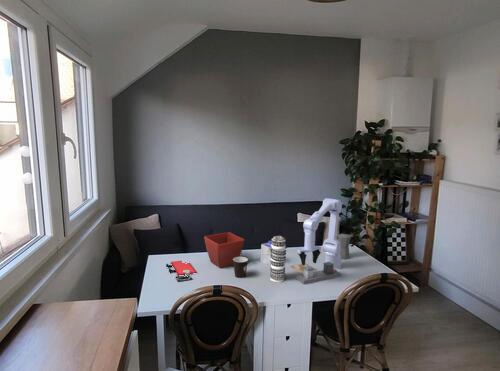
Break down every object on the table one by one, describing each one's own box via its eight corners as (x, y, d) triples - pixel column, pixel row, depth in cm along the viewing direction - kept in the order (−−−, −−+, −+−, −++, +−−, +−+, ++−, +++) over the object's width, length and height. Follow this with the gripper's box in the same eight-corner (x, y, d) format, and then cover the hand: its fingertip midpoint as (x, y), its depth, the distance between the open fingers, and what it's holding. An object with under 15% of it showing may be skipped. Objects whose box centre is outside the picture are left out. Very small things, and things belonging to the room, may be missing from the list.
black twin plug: (328, 274, 203) (329, 261, 202) (332, 277, 200) (333, 264, 198) (323, 275, 201) (323, 262, 200) (327, 278, 198) (328, 265, 197)
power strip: (331, 272, 207) (331, 266, 206) (340, 277, 200) (340, 271, 199) (295, 279, 195) (295, 274, 195) (303, 285, 188) (303, 279, 188)
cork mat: (305, 264, 219) (305, 263, 219) (317, 271, 208) (317, 270, 208) (289, 267, 213) (289, 266, 213) (300, 274, 203) (300, 273, 203)
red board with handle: (174, 283, 189) (200, 279, 195) (174, 278, 189) (200, 274, 195) (164, 264, 216) (187, 261, 222) (164, 260, 216) (187, 257, 222)
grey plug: (308, 278, 197) (309, 265, 196) (313, 281, 194) (313, 267, 193) (302, 279, 196) (303, 266, 194) (307, 282, 192) (307, 268, 191)
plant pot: (244, 264, 216) (245, 239, 214) (218, 271, 206) (218, 244, 203) (229, 255, 232) (229, 231, 229) (203, 261, 221) (203, 236, 218)
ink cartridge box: (277, 264, 217) (277, 242, 215) (270, 266, 214) (271, 244, 212) (266, 260, 225) (267, 239, 223) (260, 262, 221) (260, 240, 219)
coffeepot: (335, 259, 227) (337, 233, 225) (331, 254, 237) (332, 229, 234) (358, 259, 229) (359, 233, 226) (353, 254, 238) (354, 229, 235)
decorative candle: (273, 274, 202) (274, 233, 198) (288, 278, 197) (289, 236, 194) (266, 280, 194) (267, 237, 191) (281, 283, 190) (282, 240, 186)
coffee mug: (236, 279, 194) (237, 263, 192) (230, 274, 202) (230, 258, 200) (254, 276, 199) (255, 259, 198) (248, 270, 207) (248, 255, 205)
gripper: (316, 237, 198) (315, 259, 200) (295, 240, 192) (294, 263, 194) (323, 240, 192) (322, 263, 194) (302, 243, 185) (301, 267, 187)
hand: (308, 263), depth 193 cm, fingers open, 7 cm apart
